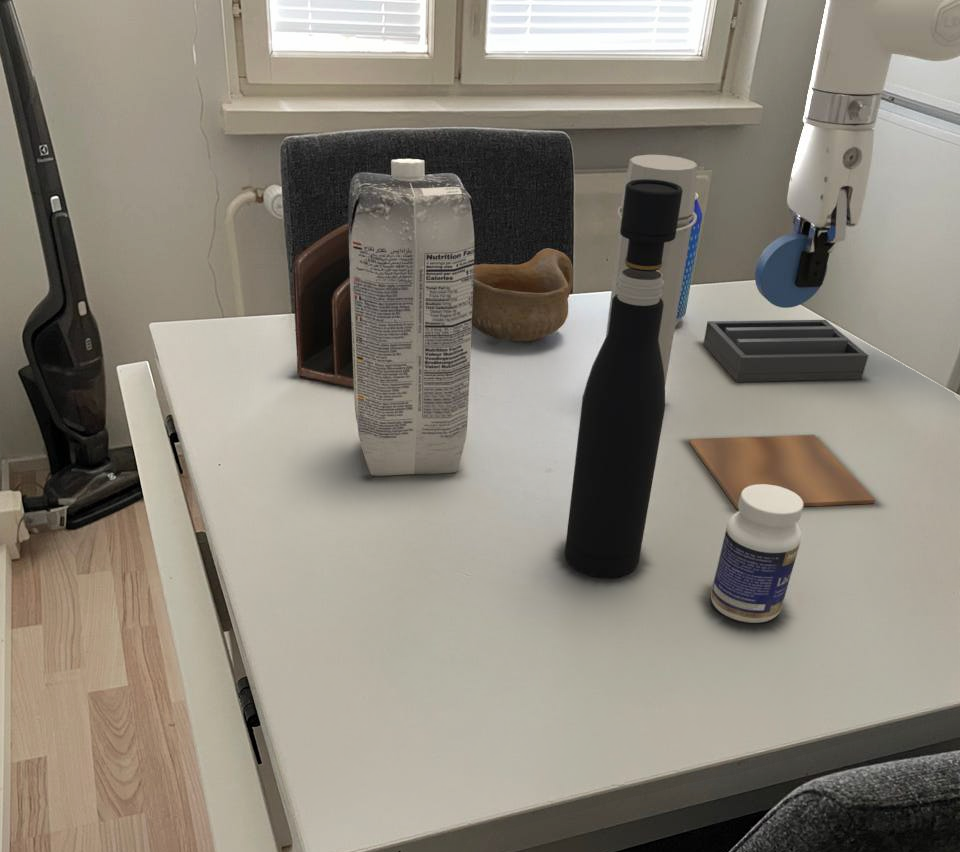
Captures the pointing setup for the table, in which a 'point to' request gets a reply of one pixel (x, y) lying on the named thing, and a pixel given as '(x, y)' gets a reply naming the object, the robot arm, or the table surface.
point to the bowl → (522, 297)
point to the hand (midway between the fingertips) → (803, 281)
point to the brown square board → (781, 468)
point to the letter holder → (324, 310)
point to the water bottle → (673, 251)
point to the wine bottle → (624, 397)
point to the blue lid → (783, 272)
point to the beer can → (689, 262)
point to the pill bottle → (758, 554)
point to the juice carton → (411, 317)
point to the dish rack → (784, 350)
